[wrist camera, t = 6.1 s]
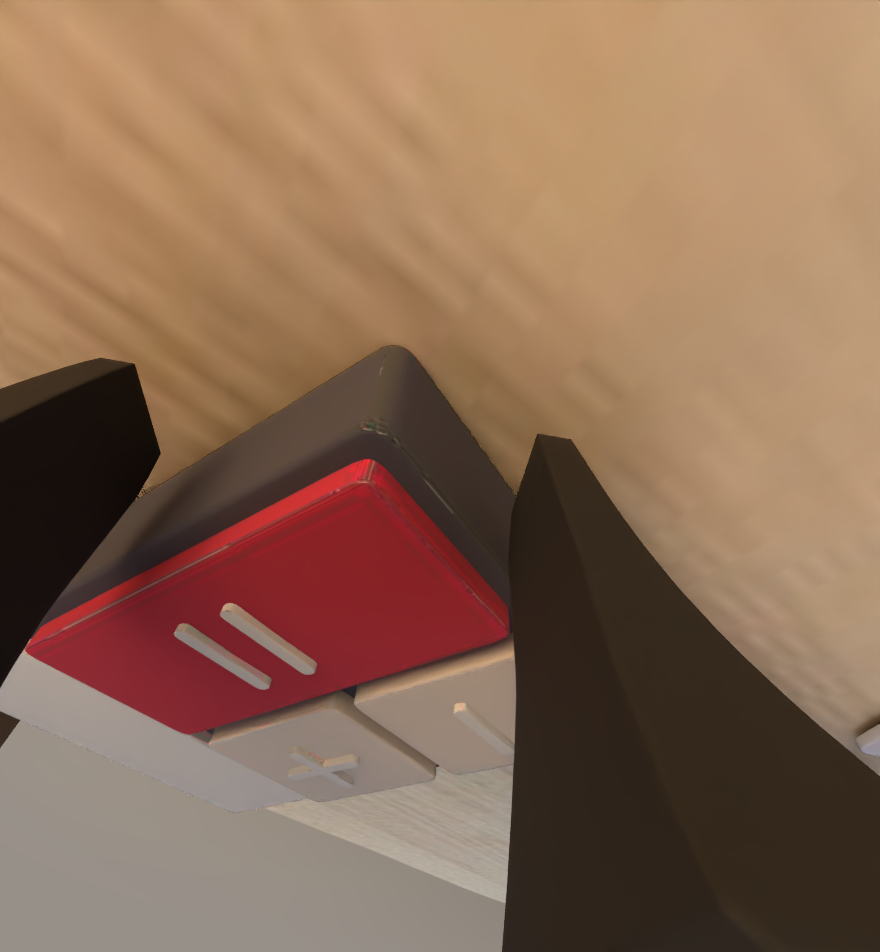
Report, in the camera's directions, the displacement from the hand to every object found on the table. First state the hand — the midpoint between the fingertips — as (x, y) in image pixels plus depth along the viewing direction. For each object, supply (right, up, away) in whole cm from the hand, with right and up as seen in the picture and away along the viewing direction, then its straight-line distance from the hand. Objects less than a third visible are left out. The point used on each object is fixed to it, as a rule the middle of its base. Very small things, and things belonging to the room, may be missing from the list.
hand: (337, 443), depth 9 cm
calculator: (-2, -4, +6) cm, 8 cm away
